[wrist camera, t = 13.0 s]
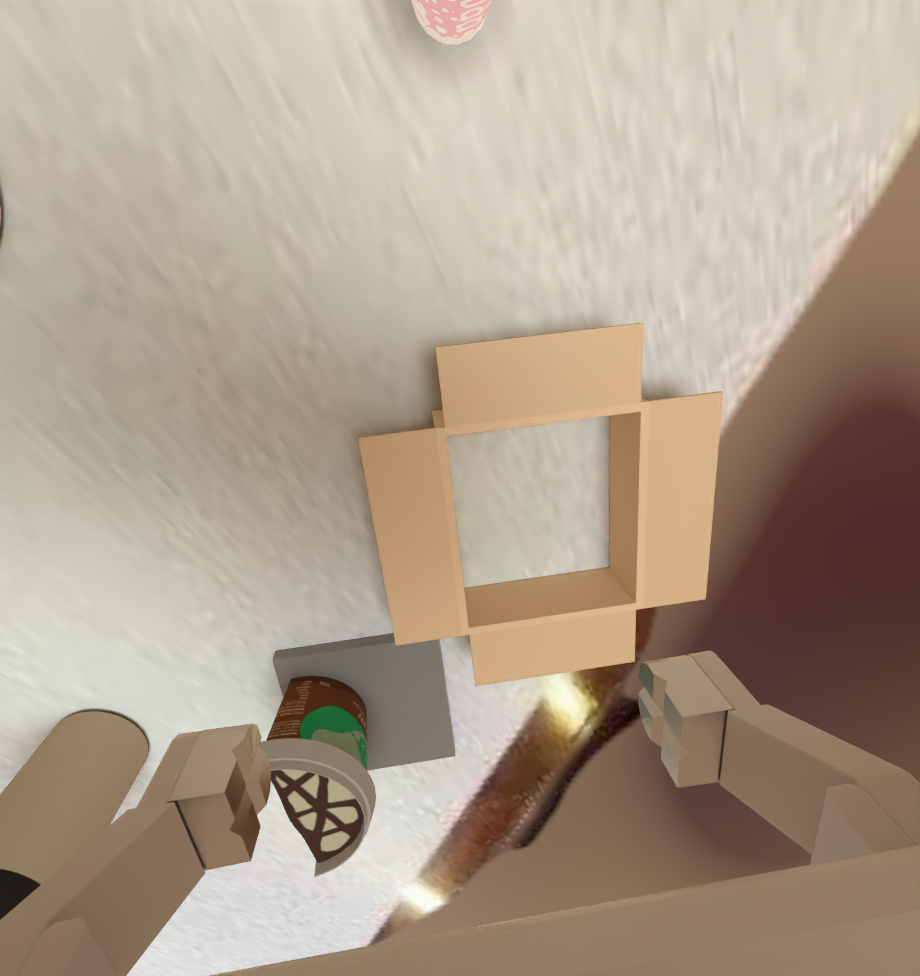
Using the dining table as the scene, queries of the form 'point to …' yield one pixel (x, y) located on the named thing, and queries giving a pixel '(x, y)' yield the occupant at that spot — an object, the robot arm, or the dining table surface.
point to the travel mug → (64, 798)
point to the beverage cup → (451, 18)
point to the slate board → (385, 693)
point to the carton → (632, 517)
